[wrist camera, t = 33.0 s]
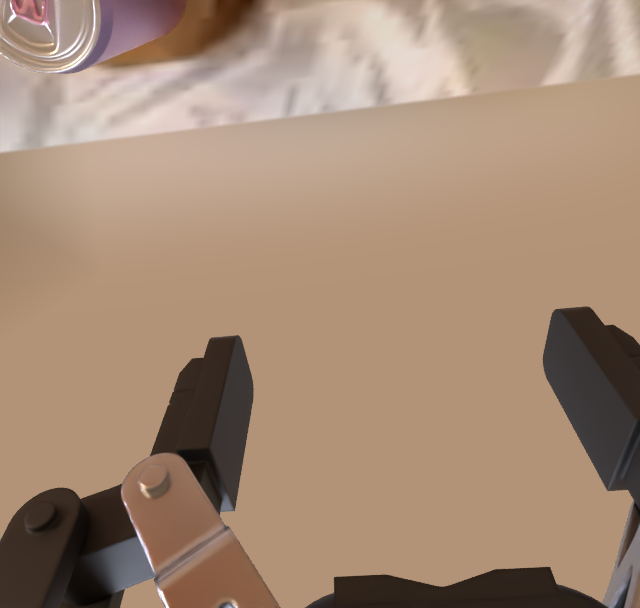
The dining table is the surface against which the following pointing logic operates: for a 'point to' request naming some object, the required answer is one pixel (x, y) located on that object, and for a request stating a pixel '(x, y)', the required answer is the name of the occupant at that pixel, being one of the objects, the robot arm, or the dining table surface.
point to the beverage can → (80, 30)
